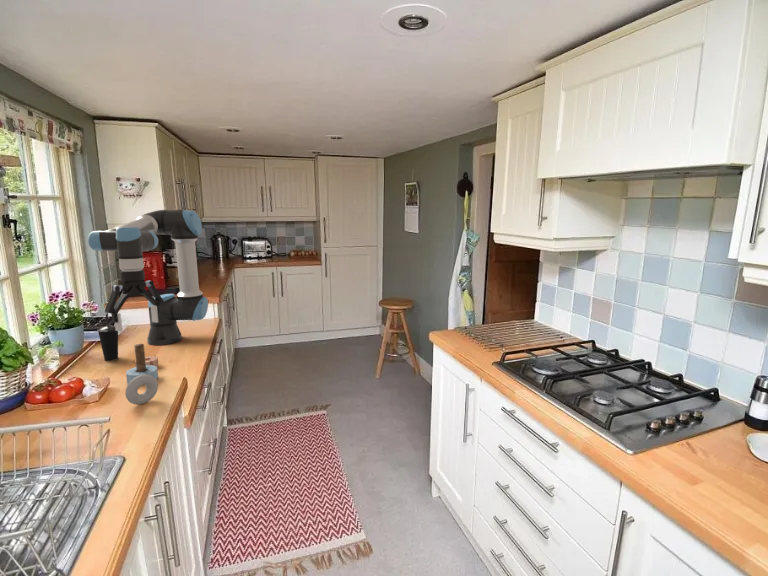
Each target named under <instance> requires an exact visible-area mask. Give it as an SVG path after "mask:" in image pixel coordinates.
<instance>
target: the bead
mask: <svg viewBox="0 0 768 576" xmlns="http://www.w3.org/2000/svg"><path fill="white" fill-rule="evenodd" d="M145 362H146V365H153V366H156V367H157V368H158V367H159V358H158V356H155V355H149V356H146V355H145ZM134 364H135V367H136V359H135V360H134Z"/></svg>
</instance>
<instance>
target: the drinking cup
mask: <svg viewBox="0 0 768 576" xmlns="http://www.w3.org/2000/svg"><path fill="white" fill-rule="evenodd" d="M108 314H109V313H106V314H105V321H106V325H105V326H102V327H100V328H97V330H96V331H97V333H98V336H99V337H98V338H99V341H100V345H101V349H102V351H101V352H102V354H103V359H104V361H106V362H110V361H115V360H118V359H119V331H116V329H115V325H110V324H109V323H110V322H109V315H108Z"/></svg>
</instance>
